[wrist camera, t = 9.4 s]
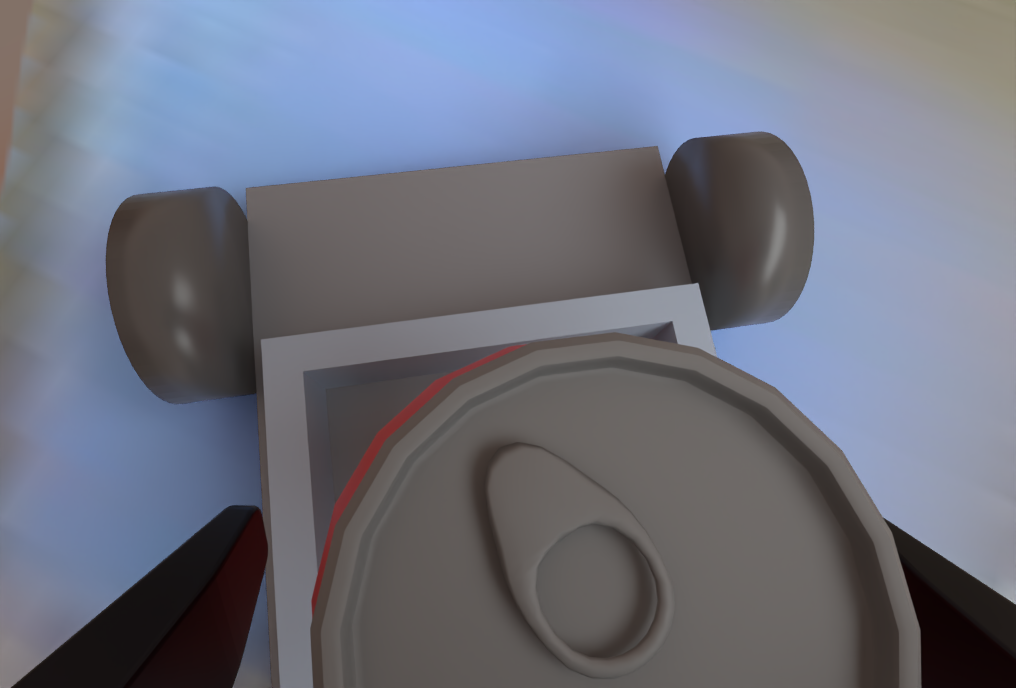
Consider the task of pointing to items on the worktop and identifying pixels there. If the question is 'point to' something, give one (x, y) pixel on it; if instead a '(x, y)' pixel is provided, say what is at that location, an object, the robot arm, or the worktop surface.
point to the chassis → (433, 298)
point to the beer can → (608, 535)
